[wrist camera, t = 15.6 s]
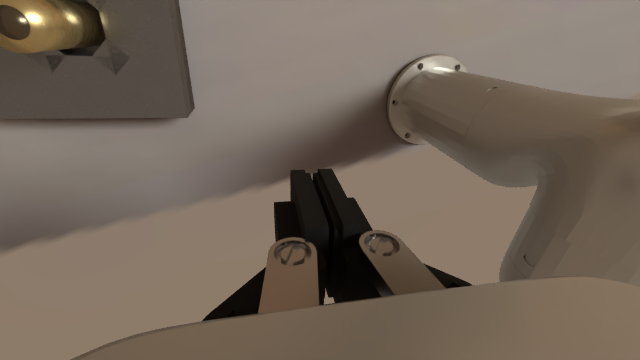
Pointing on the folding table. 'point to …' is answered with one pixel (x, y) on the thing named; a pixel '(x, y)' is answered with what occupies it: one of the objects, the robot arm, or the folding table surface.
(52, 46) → the brass cylinder
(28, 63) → the jig
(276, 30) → the folding table surface
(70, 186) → the folding table surface
